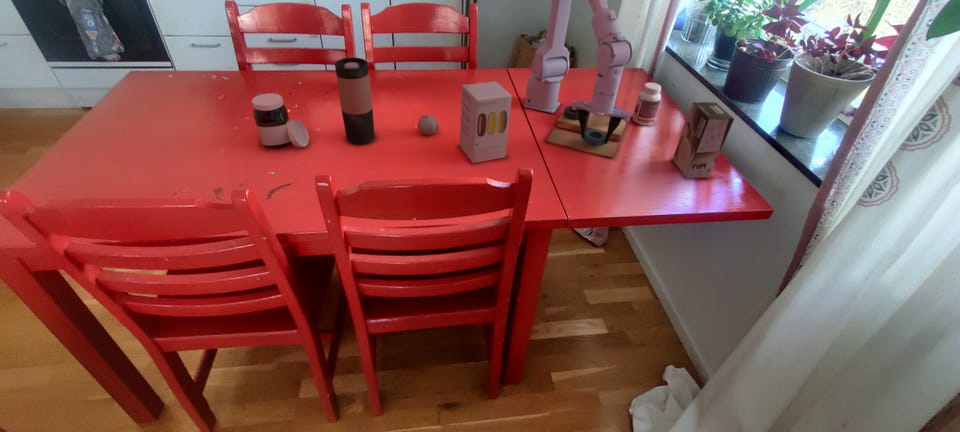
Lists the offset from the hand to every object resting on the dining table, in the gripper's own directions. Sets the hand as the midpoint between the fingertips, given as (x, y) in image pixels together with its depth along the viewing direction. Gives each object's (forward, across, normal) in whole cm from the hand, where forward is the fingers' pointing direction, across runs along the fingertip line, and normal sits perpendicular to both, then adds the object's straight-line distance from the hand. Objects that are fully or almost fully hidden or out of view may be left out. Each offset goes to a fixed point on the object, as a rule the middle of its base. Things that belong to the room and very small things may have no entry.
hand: (594, 139), depth 122 cm
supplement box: (+2, -25, -17) cm, 30 cm away
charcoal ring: (0, -8, +11) cm, 14 cm away
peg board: (+2, -3, +11) cm, 12 cm away
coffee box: (+2, +25, +1) cm, 25 cm away
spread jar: (+2, -71, -37) cm, 80 cm away
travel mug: (+2, -56, -26) cm, 62 cm away
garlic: (+2, -42, -15) cm, 45 cm away
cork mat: (+2, -3, 0) cm, 4 cm away
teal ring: (0, 0, 0) cm, 0 cm away
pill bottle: (+2, +10, +22) cm, 24 cm away
